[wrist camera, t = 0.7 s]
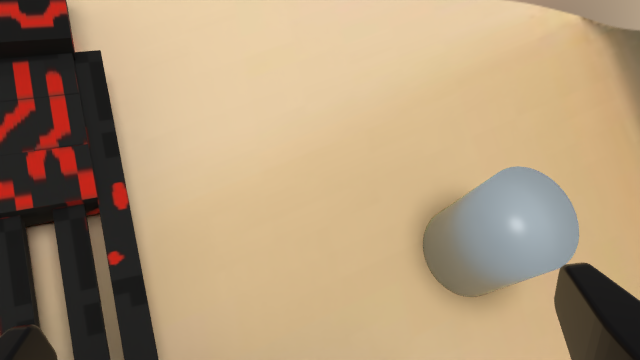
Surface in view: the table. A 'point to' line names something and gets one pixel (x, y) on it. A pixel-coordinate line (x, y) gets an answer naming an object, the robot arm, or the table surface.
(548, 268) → the grey cylinder
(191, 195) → the table surface
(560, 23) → the table surface
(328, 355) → the table surface
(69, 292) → the toy
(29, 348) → the robot arm
